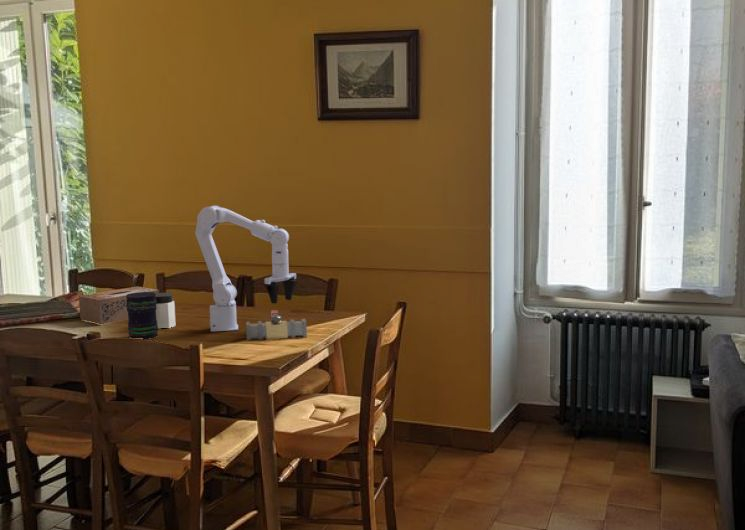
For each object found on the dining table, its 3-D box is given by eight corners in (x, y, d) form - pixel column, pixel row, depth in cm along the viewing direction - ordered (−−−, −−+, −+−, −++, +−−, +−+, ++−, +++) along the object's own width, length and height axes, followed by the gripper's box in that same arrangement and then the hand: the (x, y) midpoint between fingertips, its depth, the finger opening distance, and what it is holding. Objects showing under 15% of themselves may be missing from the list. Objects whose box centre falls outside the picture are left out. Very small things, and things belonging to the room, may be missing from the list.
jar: (175, 323, 274) (174, 292, 272) (175, 328, 266) (173, 295, 265) (150, 325, 272) (148, 293, 270) (149, 330, 264) (147, 297, 262)
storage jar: (148, 341, 248) (145, 297, 245) (122, 339, 250) (119, 296, 248) (164, 334, 257) (161, 292, 255) (139, 333, 260) (136, 291, 258)
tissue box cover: (101, 326, 273) (99, 299, 272) (80, 321, 282) (78, 295, 281) (160, 314, 293) (158, 289, 292) (139, 310, 302) (137, 286, 301)
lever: (281, 322, 248) (281, 317, 248) (271, 323, 248) (270, 318, 248) (279, 314, 261) (279, 309, 261) (269, 315, 261) (269, 310, 260)
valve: (247, 340, 246) (246, 325, 245) (246, 336, 252) (246, 321, 251) (306, 337, 249) (306, 322, 249) (305, 333, 255) (305, 318, 254)
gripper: (274, 266, 251) (276, 305, 253) (302, 261, 263) (303, 299, 265) (259, 265, 255) (260, 303, 257) (287, 260, 267) (288, 297, 269)
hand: (281, 301), depth 262 cm, fingers open, 7 cm apart
